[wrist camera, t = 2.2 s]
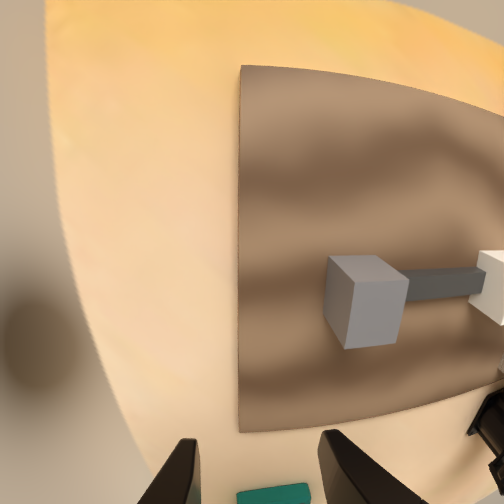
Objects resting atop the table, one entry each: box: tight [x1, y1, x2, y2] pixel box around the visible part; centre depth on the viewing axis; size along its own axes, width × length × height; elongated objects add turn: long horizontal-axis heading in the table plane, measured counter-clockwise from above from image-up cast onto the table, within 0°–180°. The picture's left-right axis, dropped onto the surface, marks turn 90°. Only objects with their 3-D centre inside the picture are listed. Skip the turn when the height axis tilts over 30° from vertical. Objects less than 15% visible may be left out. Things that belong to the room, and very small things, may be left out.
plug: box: [323, 250, 504, 349], centre depth 17 cm, size 4×19×4 cm, turn 89°
